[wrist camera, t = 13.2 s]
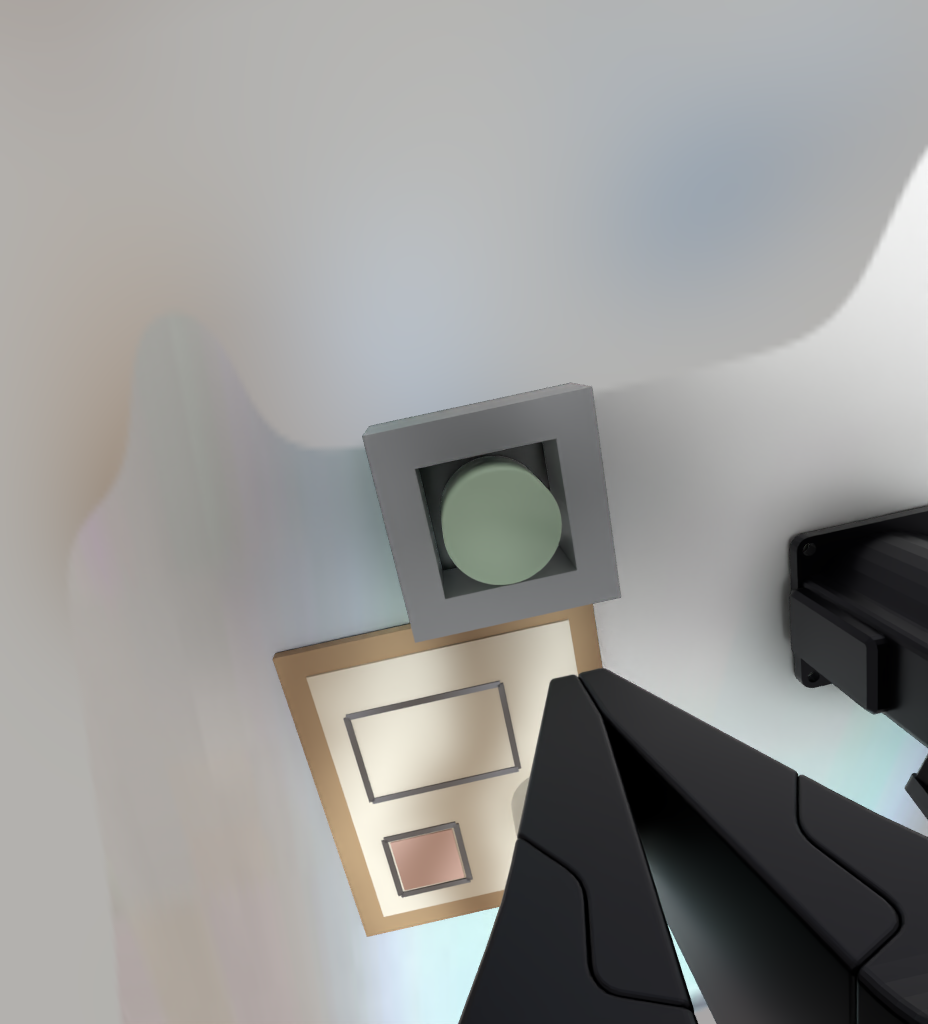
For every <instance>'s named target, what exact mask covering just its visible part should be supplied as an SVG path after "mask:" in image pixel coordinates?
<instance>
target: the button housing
mask: <svg viewBox="0 0 928 1024" xmlns="http://www.w3.org/2000/svg"><path fill="white" fill-rule="evenodd" d="M362 438H363V442H364V445H365V449H366V453H367V457H368V461H369V465H370V469H371V473H372V477H373V481H374V484H375V488H376V492H377V496H378V500H379V504H380V508H381V512H382V516H383V520H384V523H385V527H386V531H387V535H388V539H389V543H390V547H391V551H392V555H393V559H394V562H395V566H396V570H397V574H398V578H399V582H400V586H401V590H402V594H403V597H404V601H405V605H406V609H407V613H408V617H409V621H410V625H411V629H412V633H413V636H414V640H415V643H417V642H421V641H426V640H431V639H435V638H440V637H444V636H449V635H453V634H458V633H462V632H467V631H471V630H476V629H480V628H485V627H489V626H494V625H499V624H503V623H508V622H512V621H517V620H521V619H526V618H530V617H535V616H539V615H544V614H548V613H553V612H557V611H562V610H567V609H571V608H576V607H580V606H585V605H589V604H594V603H598V602H603V601H607V600H612V599H616V598H621V594H620V586H619V579H618V572H617V565H616V557H615V550H614V543H613V535H612V528H611V521H610V513H609V506H608V499H607V492H606V484H605V477H604V470H603V462H602V455H601V448H600V441H599V433H598V426H597V419H596V411H595V404H594V397H593V389H592V387H591V386H585V385H580V384H575V383H567V384H563V385H558V386H553V387H549V388H544V389H539V390H535V391H531V392H525V393H521V394H516V395H512V396H507V397H503V398H498V399H493V400H488V401H484V402H479V403H474V404H470V405H465V406H461V407H456V408H451V409H446V410H442V411H437V412H433V413H428V414H423V415H419V416H414V417H409V418H404V419H400V420H395V421H390V422H386V423H381V424H376V425H373V426H369V428H368V429H367V430H366V432H365V433H364V434H363V436H362ZM538 442H542V444H543V450H544V456H545V462H546V468H547V474H548V480H549V486H550V492H551V494H552V495H553V497H554V498H555V500H556V502H557V504H558V507H559V510H560V514H561V521H562V531H561V537H560V541H559V545H558V547H557V549H556V551H555V553H554V555H553V556H552V558H551V559H550V561H549V562H548V563H547V564H546V565H545V566H544V567H543V568H542V569H541V570H540V571H539V572H537V573H536V574H535V575H533V576H531V577H530V578H528V579H525V580H523V581H521V582H517V583H514V584H508V585H492V584H487V583H483V582H480V581H477V580H475V579H473V578H471V577H469V576H468V575H466V574H465V573H463V572H462V571H461V570H460V569H459V568H453V569H449V570H444V571H443V570H442V566H441V562H440V558H439V553H438V549H437V545H436V540H435V536H434V532H433V527H432V523H431V519H430V514H429V510H428V506H427V501H426V497H425V493H424V488H423V484H422V480H421V476H420V471H419V468H422V467H427V466H431V465H436V464H441V463H445V462H450V461H455V460H459V459H464V458H468V457H473V456H478V455H482V454H487V453H492V452H496V451H501V450H505V449H510V448H515V447H519V446H524V445H529V444H533V443H538Z"/></svg>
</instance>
